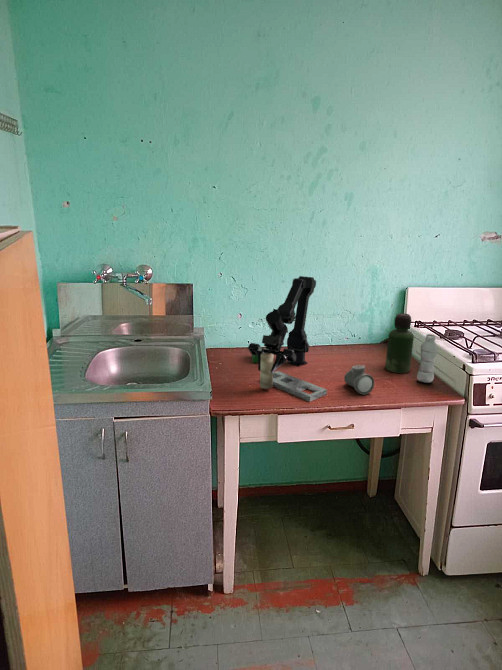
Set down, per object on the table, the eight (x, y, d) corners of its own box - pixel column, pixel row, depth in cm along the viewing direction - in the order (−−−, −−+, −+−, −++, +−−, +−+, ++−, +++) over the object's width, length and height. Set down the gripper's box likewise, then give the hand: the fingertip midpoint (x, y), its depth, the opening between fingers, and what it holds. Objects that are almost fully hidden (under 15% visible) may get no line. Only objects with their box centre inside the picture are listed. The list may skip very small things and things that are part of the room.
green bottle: (395, 375, 203) (401, 318, 196) (380, 366, 213) (386, 312, 205) (414, 372, 207) (421, 316, 200) (399, 364, 216) (405, 311, 209)
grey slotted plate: (277, 375, 200) (278, 370, 200) (326, 394, 182) (327, 389, 182) (260, 381, 194) (261, 376, 193) (309, 401, 176) (310, 396, 175)
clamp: (262, 371, 216) (267, 358, 211) (250, 368, 216) (255, 355, 210) (263, 354, 225) (268, 341, 220) (251, 352, 224) (256, 339, 219)
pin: (270, 383, 188) (271, 352, 184) (274, 388, 184) (275, 356, 180) (258, 384, 187) (259, 353, 183) (261, 389, 182) (262, 357, 179)
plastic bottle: (425, 385, 192) (431, 338, 187) (412, 380, 198) (418, 334, 192) (436, 383, 195) (443, 336, 190) (424, 377, 201) (430, 332, 195)
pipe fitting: (375, 392, 184) (374, 367, 181) (357, 397, 181) (356, 371, 179) (359, 384, 195) (357, 360, 193) (341, 388, 192) (340, 364, 190)
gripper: (250, 323, 186) (237, 358, 179) (294, 329, 178) (282, 366, 172) (258, 337, 195) (246, 370, 189) (301, 344, 187) (289, 379, 181)
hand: (265, 371), depth 182 cm, fingers closed on pin, 5 cm apart
